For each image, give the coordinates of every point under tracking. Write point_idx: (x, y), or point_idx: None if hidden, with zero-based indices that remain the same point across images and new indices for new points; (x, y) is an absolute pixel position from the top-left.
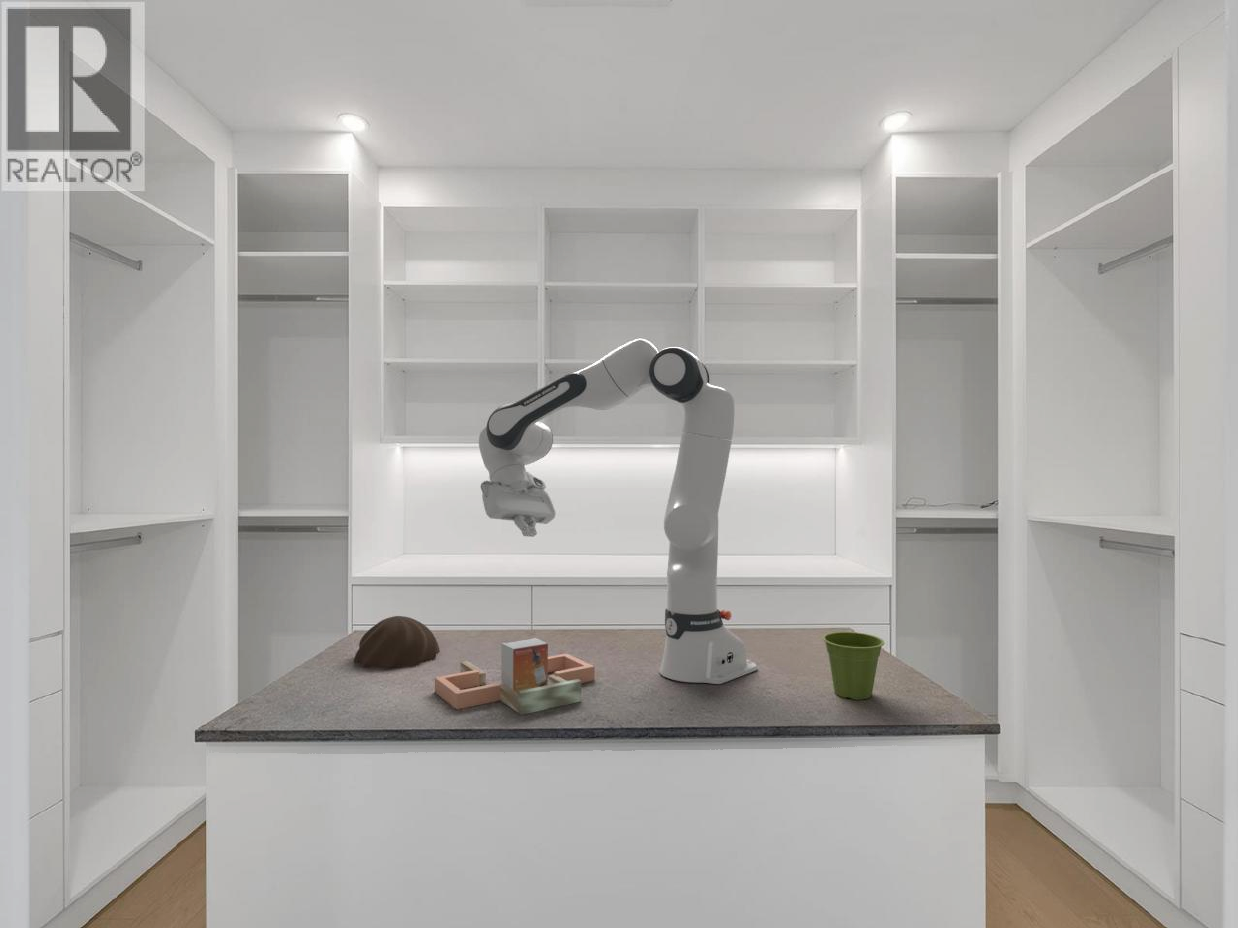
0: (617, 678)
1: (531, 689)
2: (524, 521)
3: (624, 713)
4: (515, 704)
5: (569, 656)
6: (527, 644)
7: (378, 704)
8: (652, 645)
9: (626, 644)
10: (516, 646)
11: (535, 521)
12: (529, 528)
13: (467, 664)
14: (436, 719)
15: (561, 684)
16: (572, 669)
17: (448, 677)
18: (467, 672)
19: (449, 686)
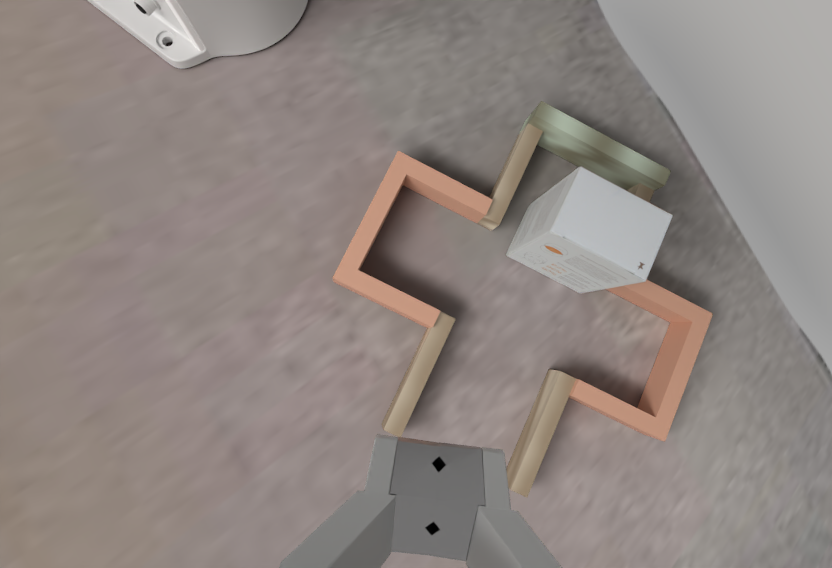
0: (355, 122)
1: (641, 167)
2: (527, 565)
3: (536, 17)
4: None
5: (354, 254)
6: (622, 206)
7: (753, 478)
8: (13, 169)
9: (40, 246)
10: (652, 221)
11: (299, 555)
12: (467, 481)
13: (533, 463)
14: (742, 312)
15: (583, 127)
16: (447, 186)
17: (646, 413)
18: (598, 399)
19: (689, 361)
